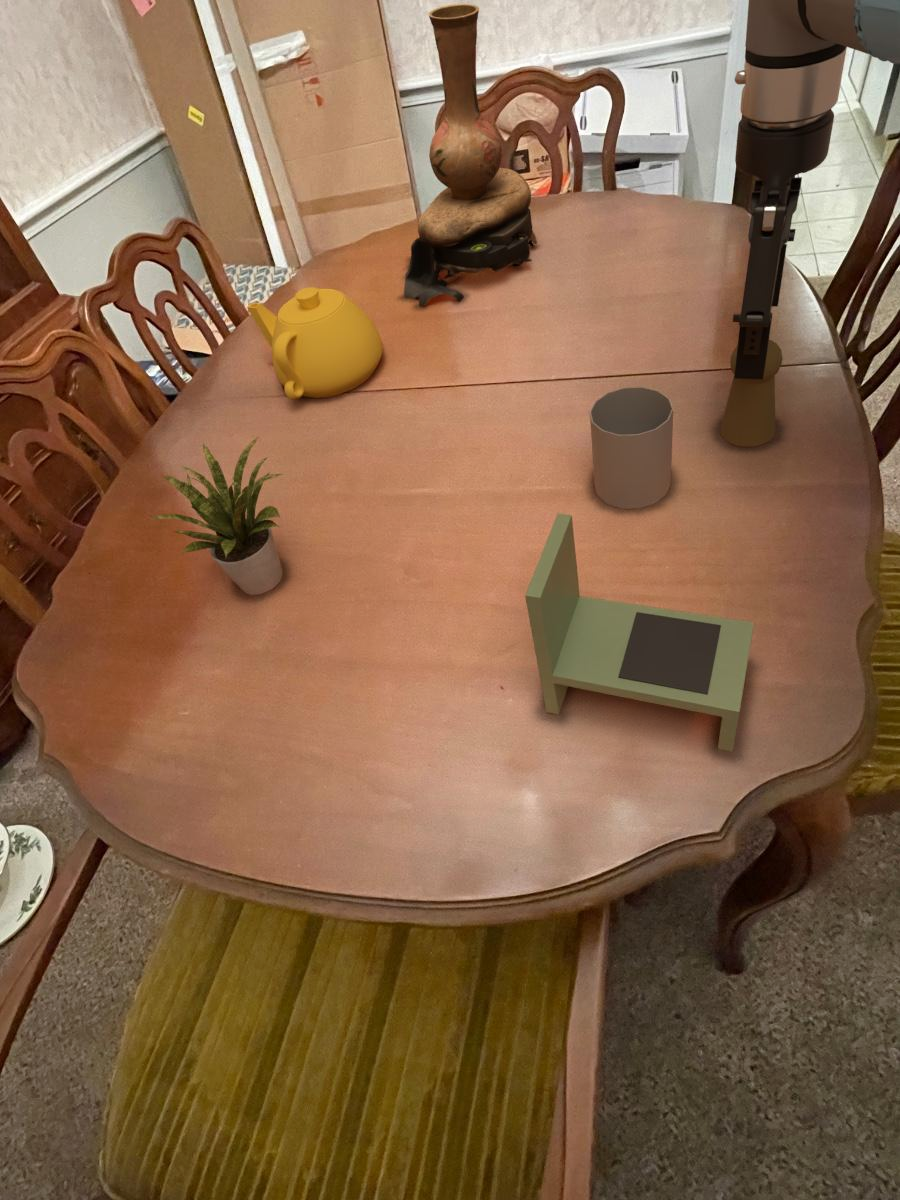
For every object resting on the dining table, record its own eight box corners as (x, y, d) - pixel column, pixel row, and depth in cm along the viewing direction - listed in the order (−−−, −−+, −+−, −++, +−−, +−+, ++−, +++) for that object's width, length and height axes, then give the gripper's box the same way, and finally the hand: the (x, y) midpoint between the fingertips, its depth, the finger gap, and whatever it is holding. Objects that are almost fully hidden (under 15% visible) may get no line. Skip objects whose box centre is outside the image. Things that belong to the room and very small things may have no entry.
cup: (634, 519, 82) (633, 446, 74) (579, 488, 87) (573, 416, 79) (686, 478, 84) (690, 403, 77) (629, 451, 89) (628, 378, 82)
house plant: (337, 523, 91) (290, 410, 79) (324, 610, 82) (269, 497, 70) (226, 540, 93) (164, 432, 81) (202, 626, 84) (127, 519, 72)
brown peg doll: (715, 418, 90) (722, 335, 82) (768, 411, 89) (780, 326, 81) (725, 450, 86) (734, 365, 78) (781, 443, 85) (795, 356, 77)
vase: (537, 290, 119) (508, 20, 93) (401, 310, 123) (336, 57, 97) (537, 225, 134) (511, -23, 108) (416, 245, 138) (363, 11, 112)
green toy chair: (746, 665, 67) (768, 536, 55) (732, 752, 62) (753, 631, 50) (571, 635, 73) (557, 513, 61) (546, 712, 68) (524, 595, 56)
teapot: (405, 346, 115) (384, 264, 106) (341, 420, 105) (311, 337, 96) (302, 335, 124) (274, 259, 114) (234, 403, 114) (197, 325, 105)
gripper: (756, 64, 72) (735, 278, 88) (717, 179, 58) (700, 408, 74) (844, 56, 69) (806, 278, 85) (824, 174, 55) (783, 413, 71)
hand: (757, 339), depth 79 cm, fingers open, 13 cm apart
